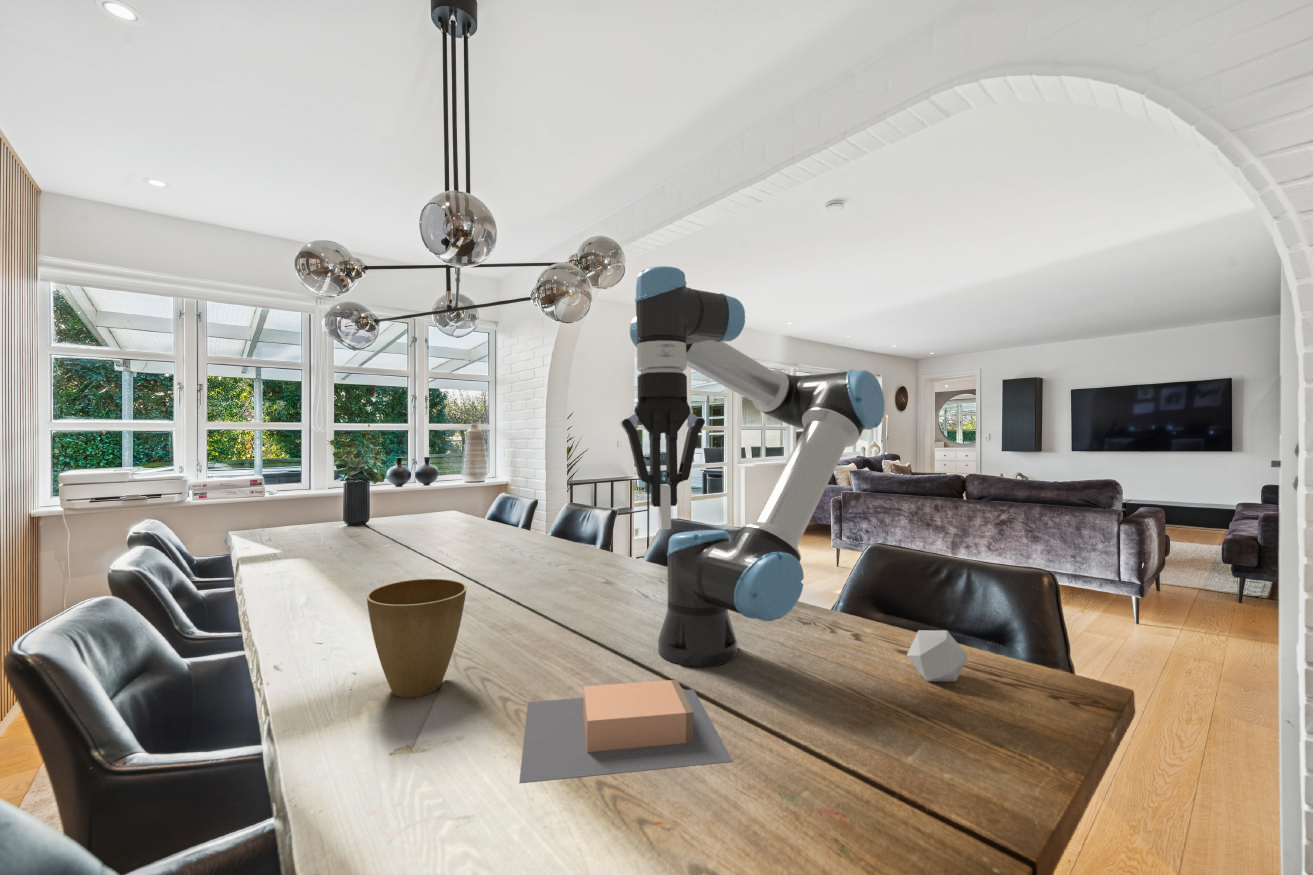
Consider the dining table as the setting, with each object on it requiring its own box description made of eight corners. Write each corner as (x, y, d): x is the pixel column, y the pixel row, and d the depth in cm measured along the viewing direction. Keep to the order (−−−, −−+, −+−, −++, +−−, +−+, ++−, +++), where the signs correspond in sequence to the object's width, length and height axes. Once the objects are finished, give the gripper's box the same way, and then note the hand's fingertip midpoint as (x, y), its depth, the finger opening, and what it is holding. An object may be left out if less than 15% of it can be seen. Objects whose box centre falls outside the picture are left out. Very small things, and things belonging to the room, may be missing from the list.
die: (963, 697, 89) (983, 643, 92) (913, 667, 91) (935, 615, 94) (938, 693, 97) (957, 644, 100) (892, 666, 98) (913, 617, 101)
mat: (528, 705, 84) (528, 701, 84) (693, 693, 89) (693, 689, 89) (519, 787, 64) (519, 782, 64) (732, 765, 69) (732, 761, 69)
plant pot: (343, 700, 85) (344, 597, 85) (415, 663, 99) (416, 575, 99) (419, 717, 80) (420, 608, 80) (484, 676, 94) (485, 583, 94)
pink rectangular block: (583, 686, 80) (677, 679, 83) (583, 713, 80) (676, 706, 83) (587, 720, 71) (693, 712, 73) (587, 751, 71) (693, 742, 73)
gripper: (622, 370, 79) (625, 534, 79) (710, 370, 81) (712, 529, 82) (616, 375, 86) (619, 525, 87) (697, 375, 89) (699, 521, 89)
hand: (664, 527), depth 84 cm, fingers closed
